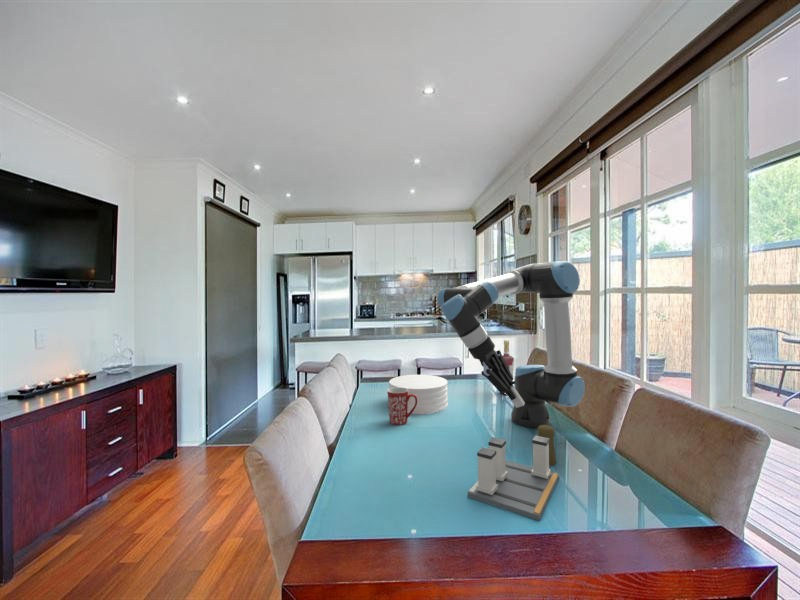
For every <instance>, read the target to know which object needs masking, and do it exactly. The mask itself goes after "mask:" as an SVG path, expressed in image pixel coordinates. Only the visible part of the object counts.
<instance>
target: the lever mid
mask: <svg viewBox="0 0 800 600" xmlns="http://www.w3.org/2000/svg"><path fill="white" fill-rule="evenodd" d="M487 443H488V449H491V450H496V480H500V481H504V479H505V478H506V477H507V475H508V472H507V471H506V459H507V457H506V455H507V454H506V452H507V451H506V450H507V449H506V444H507V440H506V439H502V438H497V437H493V436H492V437H491V439H490V440H489V441H488V442H487Z"/></svg>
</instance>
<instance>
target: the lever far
mask: <svg viewBox="0 0 800 600" xmlns="http://www.w3.org/2000/svg"><path fill="white" fill-rule="evenodd" d="M476 456H477V470H478V471H477V481H478V485H477V486H476V490H478V491H481V492H484V493H487V494H490V495H493V494H494V493H495V491H496V490H497V489H498V484H496V450H491V449H489V448H488V447H487V448H486V447H481V448H480V449H479V450H478V451H477V452H476Z"/></svg>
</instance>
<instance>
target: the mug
mask: <svg viewBox="0 0 800 600" xmlns="http://www.w3.org/2000/svg"><path fill="white" fill-rule="evenodd" d="M386 392H387V393H386V394H387V404H388V417H389V423H390V424H391V425H395V426H402V425H405V424H407V423H408V418H409V417H410V416H411V415H413V414H412V412H413V411H414V409H415V408H416V405H417V397H416V395H414V394H410V395H408V389H407V388H402V387H395V388H390V389H389V388H388V389H387V390H386ZM410 397H414V398H415V405H414V407H413V409H412V410H411V411H410V412H409V413H407V408H408V401H409V398H410Z"/></svg>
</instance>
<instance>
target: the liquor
mask: <svg viewBox="0 0 800 600" xmlns="http://www.w3.org/2000/svg"><path fill="white" fill-rule="evenodd" d="M509 346H510V340H503V347H504V348H503V354H502V357H503V359H504V361H505V363H506V365H507V367H508V369H509V371H510V373H511V374H512V376H513V377H514V366H515V365H514V364H515V363H514V360H515V359H514V357H513V356H512V355H510V347H509ZM513 381H514V379H513V380H512V382H513ZM503 393H506V392H503ZM503 393H502V394H503Z"/></svg>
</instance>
